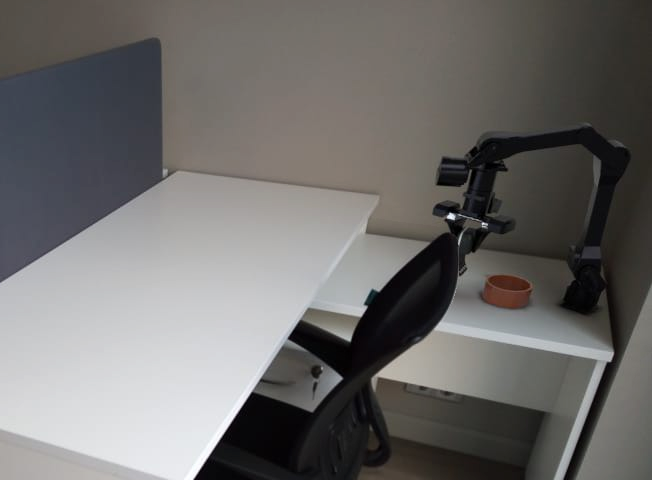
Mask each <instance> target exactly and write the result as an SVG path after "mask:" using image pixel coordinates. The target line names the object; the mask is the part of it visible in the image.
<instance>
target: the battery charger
mask: <svg viewBox="0 0 652 480" xmlns="http://www.w3.org/2000/svg"><path fill="white" fill-rule="evenodd" d="M476 229H477V228H475V227H470V226H463V229H462V230H461V231H460V232H459V233H458V236H457V240H458V245H459V276H458V277H462V276H463V275H464V274H465V273H466V272H467V270H468V266H467V263H466V255H470V254H472V246H473V241H474V236H475V231H476Z"/></svg>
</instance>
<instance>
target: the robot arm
mask: <svg viewBox="0 0 652 480" xmlns="http://www.w3.org/2000/svg"><path fill="white" fill-rule="evenodd" d="M573 145H574V146H575V145H580V146H582V147H584V148H585V149H586V150H587V151H588V152H590V153H591V154H592V155H593V160H592V161H593V163H592V170H593V171H592V172H593V186H592V190H591V194H590V198H589V203H588V207H587V211H586V214H585V218H584V222H583V227H582V231H581V235H580V239H579V241H578V242H577V244H576V245H569V246H568V254H567V257H566V258H565V262H566V264H567V267H568V268H569V270H570V272H571V274H572V276H573V278H574V279H573V280H572V281H571V282H570V285H567V286H566V289H565V292H564V296H563V299H562V301H563V302H561V303H560V306H561V307H564V308H567V309H570V310H573V311H575V312H579V313H581V314H585V315H588V314H590V313H592V312H593V311H595V310H597V309H598V308H599V307H600V305H599V304H598V303H599V301H600V297H601V294H602V292H604V291H605V290H606V288H607V287H608V286H609V285H608V282H607V281H606V279H605V278H604V276H603V275H602V264H603V256H602V255H603V254H602V242H603V237H604V234H605V231H606V226H607V221H608V219H609V214H610V210H611V206H612V203H613V199H614V195H615V191H616V187H617V185H618V184H619V183H620V182H621V180H622V178H623V177H624V176H625V174H626V171H627V169H628V167H629V166H630V164H631V161H632V153H631V151H630V150H629V149H628V147H626V146H625V145H624V144H623V143H622V142H620V141H618V140H616V139H607V138H606V137H605V136H604V135H603V134H601V133H600V132H599V131H598V130H596V129H595V128H594V127H593V126H592V125H591V124H590V123H588V122H586V121H583V122H578V123H576V124H575V123H574V124H569V125H563V126H562V125H561V126H555V127H549V128H541V129H535V130H530V131H522V132H520V131H519V132H518V131H517V132H515V131H507V130H488V131H486V132H483V133H482V134H481V135H480V136H479V137H478V139H477V140H476V143H475V145H474V146H473V147H472V148H471V149H469V150H468V152H466V153H465V154H464V156H463V157H456V156H455V157H453V156H449V155H442V156H441V158H440V161H439V163H438V167H437V169H436V174H435V180H434V186H436V187H449V188H450V187H452V188H461V187H462V186H464V185H465V184H467V182H468V184H467V188H466V191H463V192H462V198H463V197H464V200H463V205H462V207H461V203H459V202H456V201H453V200H449V199H447V200H443V201H441V202H438V203H436V204H435V205H434V207H433V209H432V212H431V213H432V216H435V217H439V218H444V217H446V218H444V220H443V222H445V223H446V224H447V227H448V230H449V232H450V235H451V234H453V235H455V236H456V237H457V236H458V233H459V232H460V231H461V230H462V229H463V228H464V225H465V224H466V221H467V220H470V221H473V222H476V223H480V224H481V226H479V227H477V228H475V229H476V231H475V236H474V241H473V246H472V252H471V254H475V253H477V251H478V250H479V248H480V247H481V245H482V244H483V242H484V241H485V240H486V238H487V237H488V236H489V235H490V234H491V233H493V234H496V235H506V234H508V233H509V232H512V231H515V229H516V226H517V221H516V218H515V217H511V216H508V215H505V214H499V215H496V216H494V217H493V216H489V215H492V214H493V213H494V214H498V213H499V211H500V209H501V207H502V204H503V202H504V201H503V200H502V199H498V198H496V191H494V189H495V185H496V181H497V178H498V174H499V172H500V173H501V172H503V173H506V172H509V168H508V166H507V164H506V163H505V161H504V160H507V159H509V158H511V157H514V156H516V155H517V154H520V153H521V154H522V153H525V152H533V151H540V150H545V149H552V148H553V149H554V148H560V147H568V146H573ZM470 171H471V172H470Z"/></svg>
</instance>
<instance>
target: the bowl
mask: <svg viewBox="0 0 652 480" xmlns="http://www.w3.org/2000/svg"><path fill="white" fill-rule="evenodd" d="M532 291H533V283H532V282H530V281H529V280H527V279H526V278H523V277H520V276H517V275H513V274H506V273H498V274H491V275H489V276H487V277H485V280H484V284H483V288H482V293H481V299H483V300H484V302H486V303H488V304H489V305H493V306H496V307H500V308H505V309H506V308H507V309H518V308H521V309H522V308H524V307H526V306H527V305H528V304H529V301H530V297H531V294H532Z"/></svg>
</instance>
